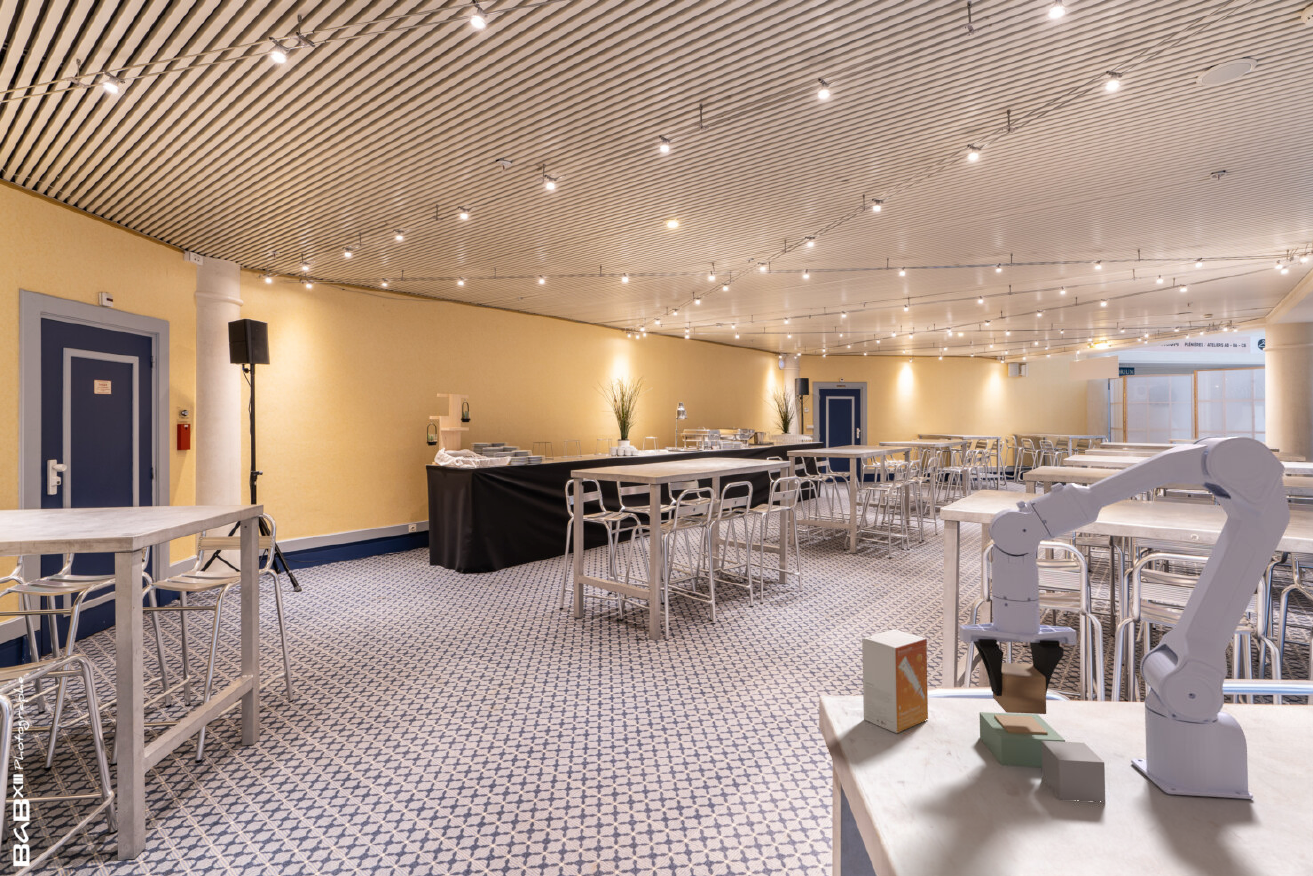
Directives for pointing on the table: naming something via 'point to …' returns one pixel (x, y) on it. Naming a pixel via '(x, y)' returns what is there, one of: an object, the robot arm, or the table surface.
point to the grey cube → (1073, 771)
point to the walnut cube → (1022, 689)
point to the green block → (1016, 737)
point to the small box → (895, 680)
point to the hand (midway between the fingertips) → (1018, 694)
